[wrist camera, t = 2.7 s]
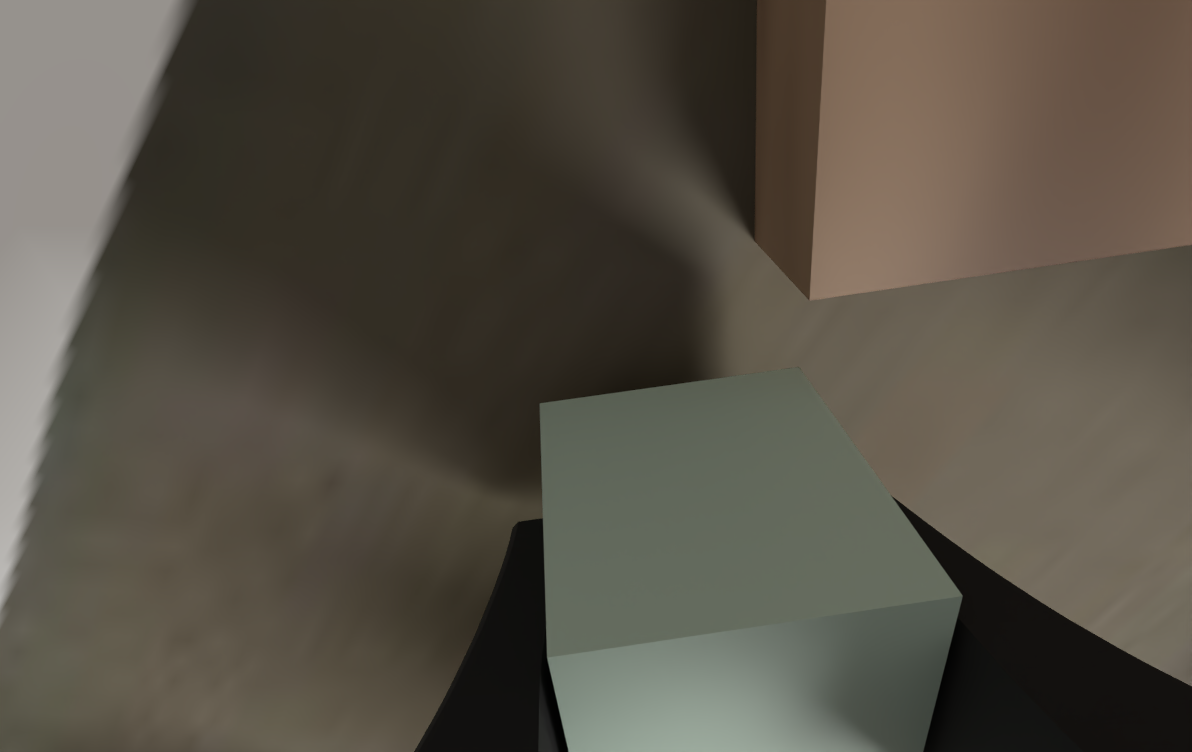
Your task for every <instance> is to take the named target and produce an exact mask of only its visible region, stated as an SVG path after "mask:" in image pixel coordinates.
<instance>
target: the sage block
mask: <svg viewBox="0 0 1192 752" xmlns="http://www.w3.org/2000/svg"><path fill="white" fill-rule="evenodd" d="M540 434H541V468H542V502H543V536H544V570H545V603H546V637H547V659H548V664H549V668H550V673H551V677H552V681H553V686H554V690H555V694H556V699H557V703H558V707H559V712H560V716H561V721H562V725H563V729H564V734H565V738H566V742H567V747H568V751H569V752H923V750H924V746H925V742H926V738H927V734H928V730H929V727H930V723H931V719H932V715H933V711H934V707H935V703H936V699H937V695H938V691H939V687H940V683H941V679H942V675H943V672H944V668H945V664H946V660H947V656H948V652H949V648H950V644H951V640H952V636H953V632H954V628H955V624H956V620H957V617H958V613H959V609H960V605H961V601H962V597H963V596H962V594H961V593H960V591H959V590H958V589H957V587H956V586H955V584H954V583H953V582H952V580H951V579H950V577H949V576H948V575H947V573H946V572H945V570H944V569H943V568H942V566H941V565H940V563H939V562H938V561H937V559H936V558H935V556H934V555H933V554H932V552H931V551H930V549H929V548H928V547H927V545H926V544H925V543H924V541H923V540H922V538H921V537H920V536H919V534H918V533H917V531H916V530H915V529H914V527H913V526H912V524H911V523H910V522H909V520H908V519H907V517H906V516H905V515H904V513H903V512H902V510H901V509H900V508H899V506H898V505H897V503H896V502H895V501H894V499H893V498H892V496H891V495H890V494H889V492H888V491H887V489H886V488H885V487H884V485H883V484H882V482H881V481H880V480H879V478H878V477H877V475H876V474H875V473H874V471H873V470H872V468H871V467H870V466H869V464H868V463H867V461H866V460H865V459H864V457H863V456H862V454H861V453H860V452H859V450H858V449H857V447H856V446H855V445H854V443H853V442H852V440H851V439H850V438H849V436H848V435H847V433H846V432H845V431H844V429H843V428H842V426H841V425H840V424H839V422H838V421H837V419H836V418H835V417H834V415H833V414H832V412H831V411H830V410H829V408H828V407H827V405H826V404H825V403H824V401H823V400H822V399H821V397H820V396H819V394H818V393H817V392H816V390H815V389H814V387H813V386H812V385H811V383H810V382H809V380H808V379H807V378H806V376H805V375H804V373H803V372H802V371H801V369H800V368H799V367H795V368H788V369H781V370H774V371H767V372H760V373H753V374H745V375H738V376H731V377H724V378H717V379H710V380H703V381H696V382H688V383H681V384H674V385H667V386H660V387H653V388H646V389H639V390H631V391H624V392H617V393H610V394H603V395H596V396H589V397H582V398H574V399H567V400H560V401H553V402H546V403H540Z"/></svg>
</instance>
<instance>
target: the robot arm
mask: <svg viewBox="0 0 1192 752" xmlns="http://www.w3.org/2000/svg"><path fill="white" fill-rule="evenodd" d="M892 498H893V499H894V501H895V502H896V503H897V505H898V506H899V508H900V509H901V510H902V512H903V513H904V515H905V516H906V517H907V519H908V520H909V522H910V523H911V524H912V526H913V527H914V529H915V530H916V531H917V533H918V534H919V536H920V537H921V538H922V540H923V541H924V543H925V544H926V545H927V547H928V548H929V549H930V551H931V552H932V554H933V555H934V556H935V558H936V559H937V561H938V562H939V563H940V565H941V566H942V568H943V569H944V570H945V572H946V573H947V575H948V576H949V577H950V579H951V580H952V582H953V583H954V584H955V586H956V587H957V589H958V590H959V591H960V593H961V594H962V596H963V597H962V601H961V605H960V609H959V613H958V617H957V620H956V624H955V628H954V632H953V636H952V640H951V644H950V648H949V652H948V656H947V660H946V664H945V668H944V672H943V675H942V679H941V683H940V687H939V691H938V695H937V699H936V703H935V707H934V711H933V715H932V719H931V723H930V727H929V730H928V734H927V738H926V742H925V746H924V750H923V752H1192V686H1190V685H1188V684H1186V683H1184V682H1182V681H1180V680H1178V679H1176V678H1174V677H1172V676H1170V675H1168V674H1166V673H1164V672H1162V671H1160V670H1158V669H1156V668H1154V667H1152V666H1151V665H1149V664H1147V663H1145V662H1143V661H1141V660H1139V659H1137V658H1136V657H1134V656H1132V655H1130V654H1128V653H1126V652H1125V651H1123V650H1121V649H1119V648H1117V647H1116V646H1114V645H1112V644H1110V643H1109V642H1107V641H1105V640H1103V639H1102V638H1100V637H1098V636H1097V635H1095V634H1093V633H1091V632H1090V631H1088V630H1086V629H1084V628H1083V627H1081V626H1079V625H1077V624H1076V623H1074V622H1072V621H1070V620H1069V619H1067V618H1066V617H1064V616H1062V615H1061V614H1059V613H1057V612H1056V611H1054V610H1052V609H1051V608H1049V607H1048V606H1046V605H1044V604H1043V603H1041V602H1040V601H1038V600H1037V599H1035V598H1034V597H1032V596H1031V595H1029V594H1027V593H1026V592H1024V591H1023V590H1021V589H1020V588H1018V587H1017V586H1015V585H1014V584H1012V583H1011V582H1009V581H1008V580H1006V579H1004V578H1003V577H1001V576H1000V575H999V574H997V573H996V572H994V571H993V570H991V569H990V568H988V567H987V566H985V565H984V564H983V563H981V562H980V561H978V560H977V559H975V558H974V557H973V556H971V555H970V554H968V553H967V552H966V551H964V550H963V549H961V548H960V547H959V546H957V545H956V544H955V543H953V542H952V541H950V540H949V539H948V538H946V537H945V536H944V535H942V534H941V533H940V532H938V531H937V530H936V529H934V528H933V527H932V526H930V525H929V524H928V523H926V522H925V521H924V520H922V519H921V518H920V517H918V516H917V515H916V514H914V513H913V512H912V511H910V510H909V509H908V508H907V507H905V506H904V505H903V504H901V503H900V502H899V501H897V500H896V499H895V498H894V497H892ZM414 752H569V751H568V747H567V742H566V738H565V734H564V729H563V725H562V721H561V716H560V712H559V707H558V703H557V699H556V694H555V690H554V686H553V681H552V677H551V673H550V668H549V664H548V659H547V637H546V603H545V570H544V536H543V518H542V519H535V520H528V521H521V522H518V523H517V524H516V525H515V526H514V527H513V529H512V533H511V537H510V541H509V545H508V548H507V552H506V555H505V558H504V561H503V564H502V567H501V570H500V573H499V576H498V579H497V581H496V584H495V587H494V590H493V592H492V595H491V597H490V600H489V602H488V605H487V607H486V610H485V612H484V614H483V617H482V619H481V622H480V624H479V627H478V629H477V631H476V634H475V636H474V638H473V640H472V643H471V645H470V647H469V649H468V651H467V653H466V655H465V657H464V659H463V661H462V663H461V666H460V668H459V670H458V672H457V674H456V676H455V678H454V680H453V682H452V684H451V686H450V688H449V690H448V692H447V694H446V696H445V698H444V700H443V702H442V703H441V705H440V707H439V709H438V711H437V713H436V715H435V716H434V718H433V720H432V722H431V724H430V725H429V727H428V729H427V731H426V732H425V734H424V736H423V738H422V739H421V741H420V743H419V745H418V746H417V748H416V750H415V751H414Z"/></svg>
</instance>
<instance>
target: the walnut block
mask: <svg viewBox="0 0 1192 752" xmlns="http://www.w3.org/2000/svg"><path fill="white" fill-rule="evenodd" d="M755 242H756V243H757V244H758V245H759V246H760V247H761V249H762V250H763V251H764V252H765V253H766V254H767V255H768V256H769V257H770V258H771V259H772V260H773V262H774V263H775V264H776V265H777V266H778V267H779V268H780V269H781V270H782V271H783V272H784V273H785V275H786V276H787V277H788V278H789V279H790V280H791V281H792V282H793V283H794V284H795V285H796V286H797V288H798V289H799V290H800V291H801V292H802V293H803V294H804V295H805V296H806V297H807V298H808V299H809V301H810V300H817V299H824V298H830V297H837V296H844V295H851V294H858V293H865V292H872V291H878V290H885V289H892V288H899V287H906V286H913V285H919V284H926V283H933V282H940V281H947V280H954V279H961V278H967V277H974V276H981V275H988V274H995V273H1002V272H1009V271H1015V270H1022V269H1029V268H1036V267H1043V266H1050V265H1056V264H1063V263H1070V262H1077V261H1084V260H1091V259H1098V258H1104V257H1111V256H1118V255H1125V254H1132V253H1139V252H1146V251H1152V250H1159V249H1166V248H1173V247H1180V246H1187V245H1192V0H757V66H756V167H755Z"/></svg>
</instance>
